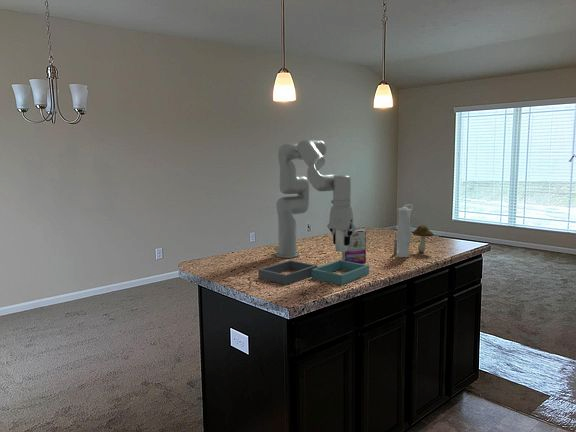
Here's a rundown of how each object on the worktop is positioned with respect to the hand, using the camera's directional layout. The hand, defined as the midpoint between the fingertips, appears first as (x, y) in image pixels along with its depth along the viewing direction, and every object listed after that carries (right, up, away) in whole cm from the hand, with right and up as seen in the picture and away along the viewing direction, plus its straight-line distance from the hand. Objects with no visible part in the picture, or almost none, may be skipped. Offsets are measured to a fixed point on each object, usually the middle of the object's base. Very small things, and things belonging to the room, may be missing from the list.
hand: (341, 243), depth 203 cm
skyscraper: (+37, -9, +40) cm, 55 cm away
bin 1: (-24, -15, +2) cm, 28 cm away
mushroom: (+50, -8, +49) cm, 70 cm away
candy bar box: (+9, -11, +27) cm, 31 cm away
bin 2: (0, -15, +2) cm, 15 cm away
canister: (0, -3, 0) cm, 3 cm away
